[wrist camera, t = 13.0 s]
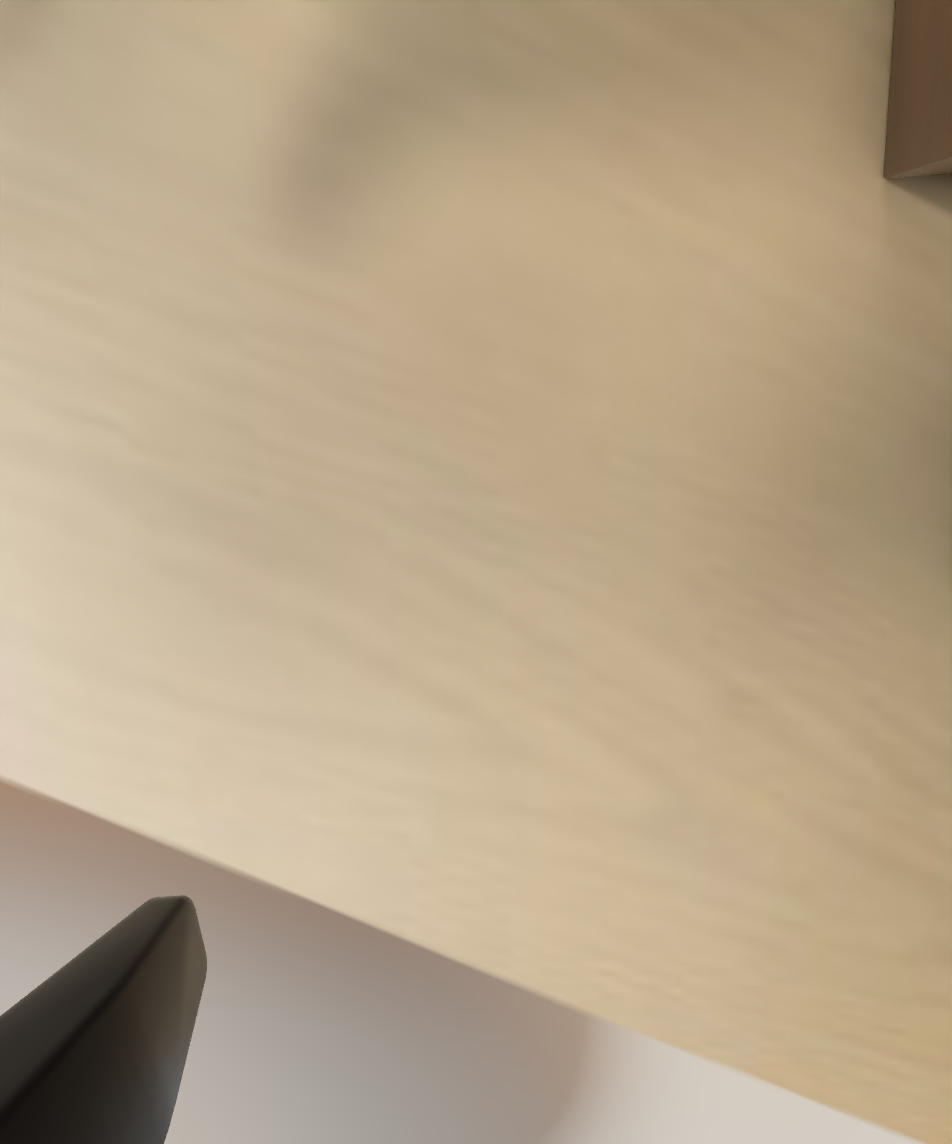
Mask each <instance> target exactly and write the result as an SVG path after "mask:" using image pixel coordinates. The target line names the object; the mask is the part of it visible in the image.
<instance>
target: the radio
mask: <svg viewBox="0 0 952 1144" xmlns="http://www.w3.org/2000/svg"><path fill="white" fill-rule="evenodd" d="M944 173H952V0H896V9H895V23H894V38H893V52H892V66H891V81H890V95H889V110H888V124H887V139H886V153H885V168H884V178H885V179H891V178H902V177H912V176H923V175H934V174H944Z"/></svg>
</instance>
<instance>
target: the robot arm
mask: <svg viewBox="0 0 952 1144" xmlns="http://www.w3.org/2000/svg"><path fill="white" fill-rule="evenodd" d="M206 972H207V957H206V951H205V947H204V943H203V939H202V934H201V931H200V926H199V922H198V918H197V913H196V909H195V906H194V903H193V901H192V900H191V899H190V898H189V897H187V896H183V895H180V896H165V897H155V898H152V899H150V900H148V901H147V902H145V903H144V904H142V905H141V906H140V907H139V908H137V909H136V910H135V911H133V912H132V913H131V914H130V915H129V916H127V917H126V918H125V919H123V920H122V921H121V922H120V923H118V924H117V925H116V926H114V927H113V928H112V929H111V930H109V931H108V932H107V933H106V934H104V935H103V936H102V937H100V938H99V939H98V940H97V941H95V942H94V943H93V944H92V945H90V946H89V947H88V948H86V949H85V950H84V951H83V952H81V953H80V954H79V955H77V957H75V958H74V959H72V960H71V961H70V962H69V963H67V964H66V965H65V966H64V967H62V968H61V969H60V970H58V971H57V972H56V973H55V974H53V975H52V976H51V977H49V978H48V979H47V980H46V981H44V982H43V983H42V984H41V985H39V986H38V987H37V988H36V989H34V990H33V991H32V992H30V993H29V994H28V995H27V996H25V997H24V998H23V999H21V1000H20V1001H19V1002H18V1003H16V1004H15V1005H14V1006H13V1007H11V1008H10V1009H9V1010H7V1011H6V1012H5V1013H4V1014H2V1015H1V1016H0V1144H164V1141H165V1138H166V1135H167V1132H168V1129H169V1126H170V1122H171V1118H172V1114H173V1111H174V1106H175V1103H176V1099H177V1095H178V1091H179V1087H180V1082H181V1078H182V1074H183V1070H184V1066H185V1062H186V1058H187V1054H188V1049H189V1045H190V1041H191V1037H192V1032H193V1029H194V1024H195V1020H196V1016H197V1012H198V1008H199V1004H200V1000H201V996H202V991H203V987H204V983H205V978H206Z"/></svg>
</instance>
